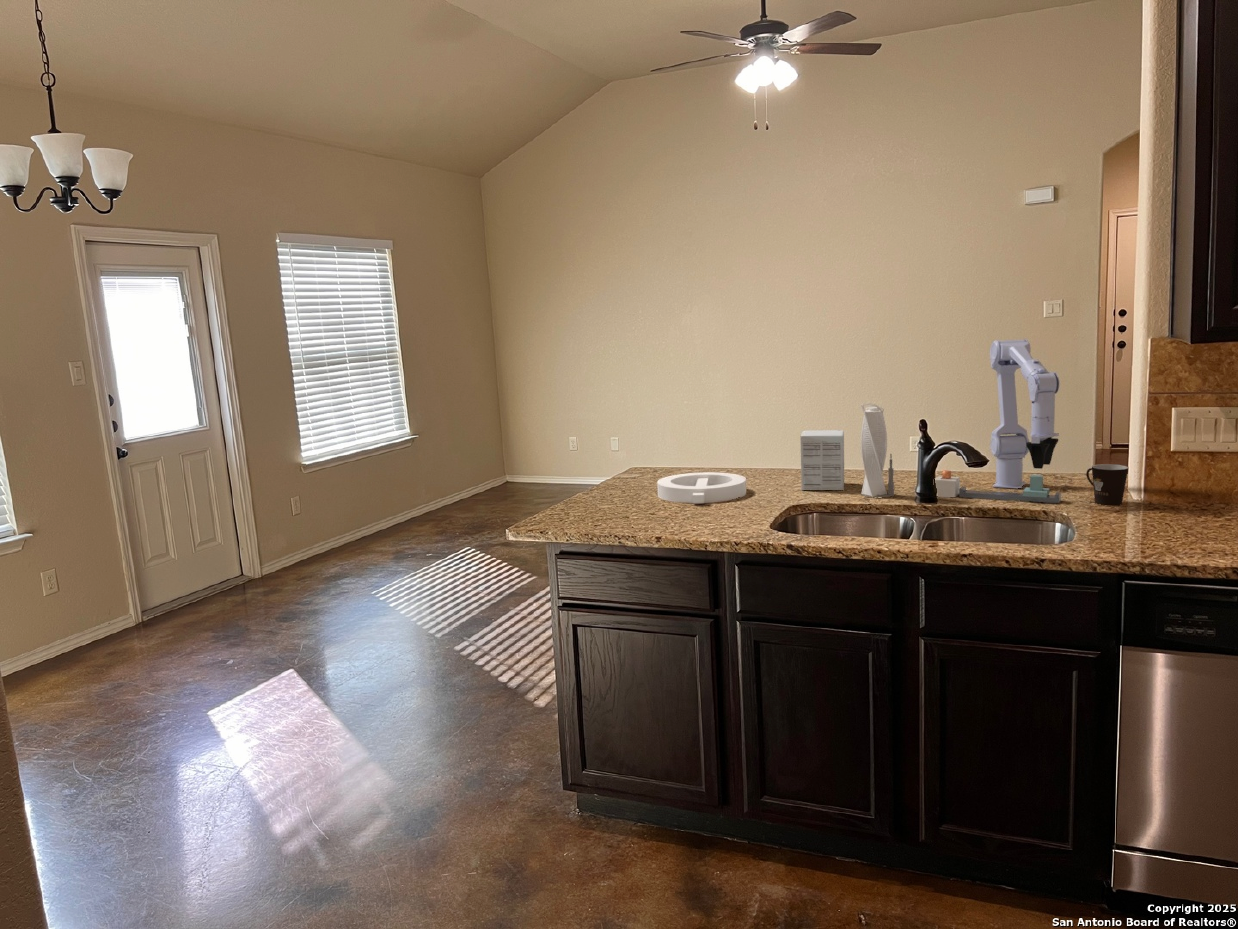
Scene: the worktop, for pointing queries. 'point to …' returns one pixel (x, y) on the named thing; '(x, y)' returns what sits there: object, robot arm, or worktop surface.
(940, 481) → the white button housing
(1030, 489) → the carriage
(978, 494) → the rail
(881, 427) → the skyscraper
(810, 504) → the worktop surface
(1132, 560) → the worktop surface
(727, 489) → the ring with crossbar
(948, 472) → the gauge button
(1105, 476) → the coffee mug
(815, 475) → the supplement box
